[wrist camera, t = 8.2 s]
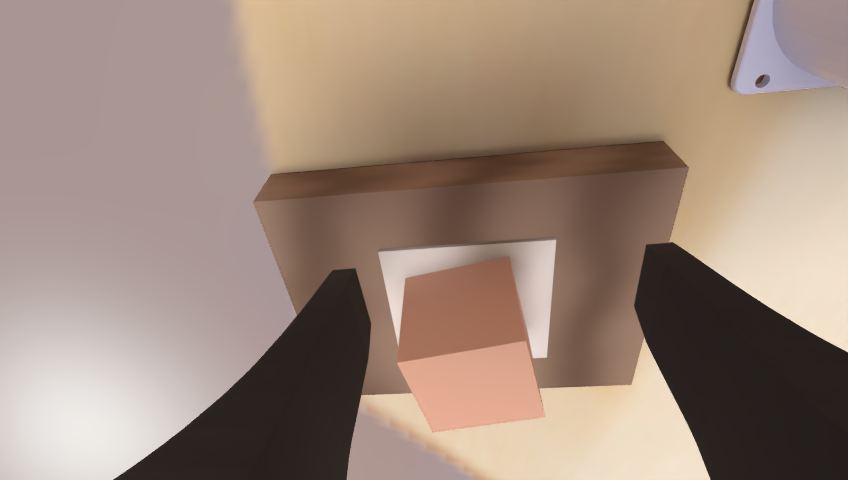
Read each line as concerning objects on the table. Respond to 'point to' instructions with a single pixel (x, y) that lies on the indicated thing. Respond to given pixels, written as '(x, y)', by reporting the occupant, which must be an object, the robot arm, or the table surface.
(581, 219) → the walnut plinth
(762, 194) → the table surface
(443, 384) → the terracotta cube
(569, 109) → the table surface
